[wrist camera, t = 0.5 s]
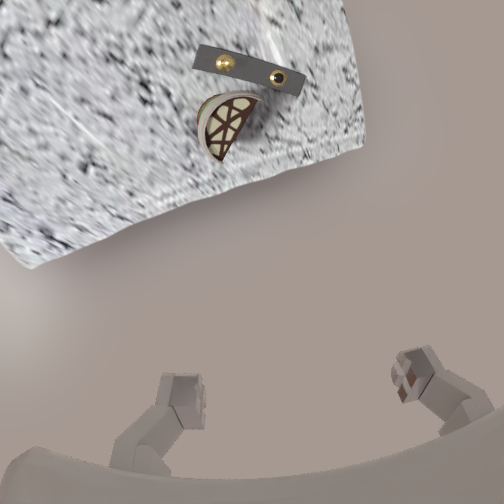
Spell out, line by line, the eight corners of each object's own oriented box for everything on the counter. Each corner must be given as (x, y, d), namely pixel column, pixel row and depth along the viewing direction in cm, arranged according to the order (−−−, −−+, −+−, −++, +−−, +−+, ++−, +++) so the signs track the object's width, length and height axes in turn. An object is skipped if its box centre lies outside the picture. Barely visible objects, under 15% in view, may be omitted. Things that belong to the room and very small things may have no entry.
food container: (212, 74, 42) (227, 77, 34) (242, 89, 45) (263, 97, 38) (177, 136, 46) (185, 152, 39) (208, 148, 50) (221, 167, 42)
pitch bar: (199, 44, 38) (203, 43, 35) (303, 75, 46) (313, 77, 44) (192, 68, 40) (195, 68, 37) (296, 96, 49) (306, 99, 46)
